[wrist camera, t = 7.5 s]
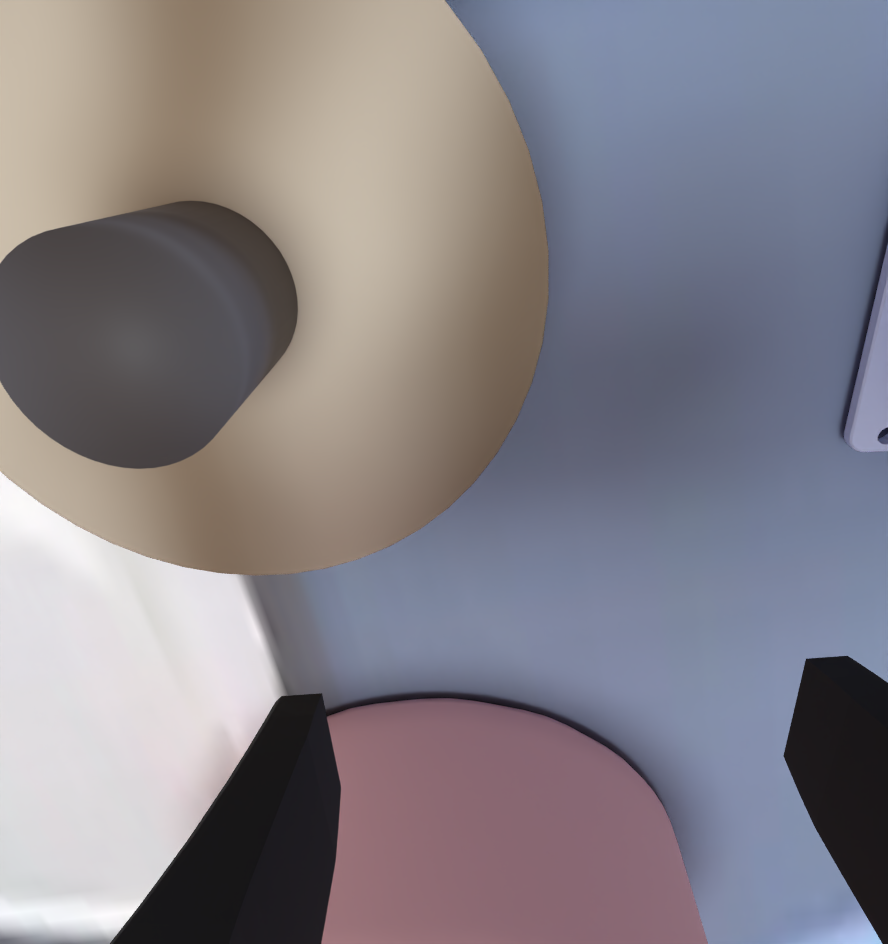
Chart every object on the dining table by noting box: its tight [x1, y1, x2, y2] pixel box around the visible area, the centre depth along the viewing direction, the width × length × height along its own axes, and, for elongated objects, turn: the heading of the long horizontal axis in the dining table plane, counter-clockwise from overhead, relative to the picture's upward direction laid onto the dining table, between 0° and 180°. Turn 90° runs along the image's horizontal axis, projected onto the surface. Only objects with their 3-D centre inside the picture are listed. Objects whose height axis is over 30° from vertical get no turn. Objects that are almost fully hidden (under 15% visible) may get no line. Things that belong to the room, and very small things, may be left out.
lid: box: [0, 0, 548, 575], centre depth 10 cm, size 12×12×4 cm
